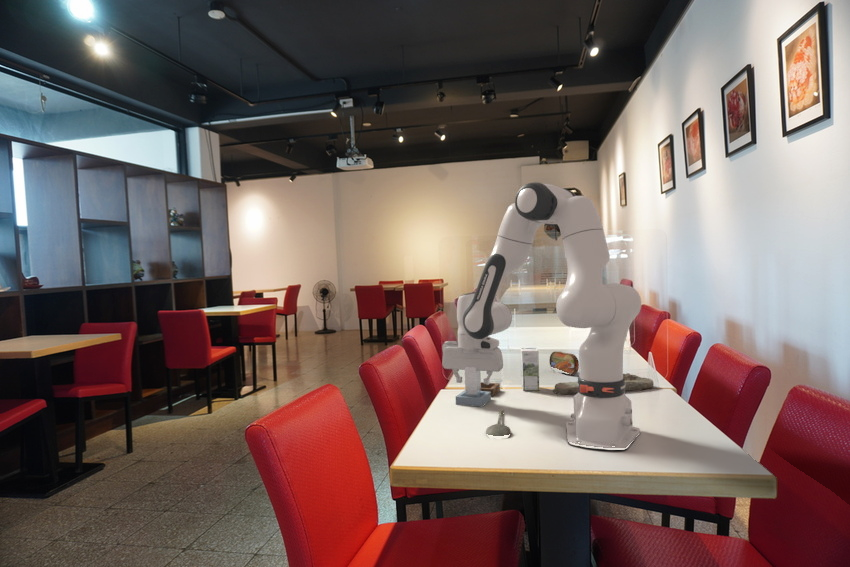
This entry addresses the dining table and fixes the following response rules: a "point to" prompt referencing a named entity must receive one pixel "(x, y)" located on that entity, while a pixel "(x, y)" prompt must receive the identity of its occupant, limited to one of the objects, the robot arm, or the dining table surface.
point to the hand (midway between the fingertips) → (472, 383)
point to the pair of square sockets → (485, 395)
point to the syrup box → (530, 369)
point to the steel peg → (472, 382)
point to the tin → (564, 362)
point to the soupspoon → (498, 428)
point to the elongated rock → (630, 380)
